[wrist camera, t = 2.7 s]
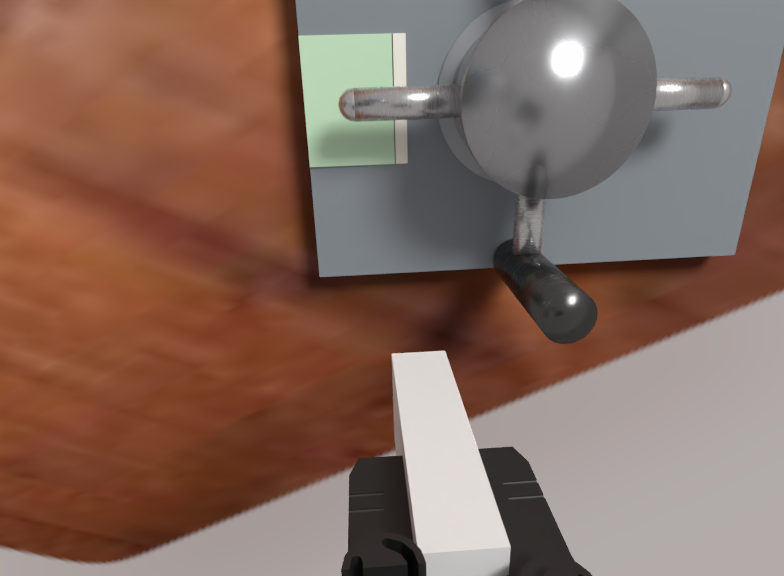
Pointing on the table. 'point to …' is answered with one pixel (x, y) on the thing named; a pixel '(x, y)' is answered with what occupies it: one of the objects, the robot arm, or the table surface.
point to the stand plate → (482, 194)
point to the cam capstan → (547, 125)
